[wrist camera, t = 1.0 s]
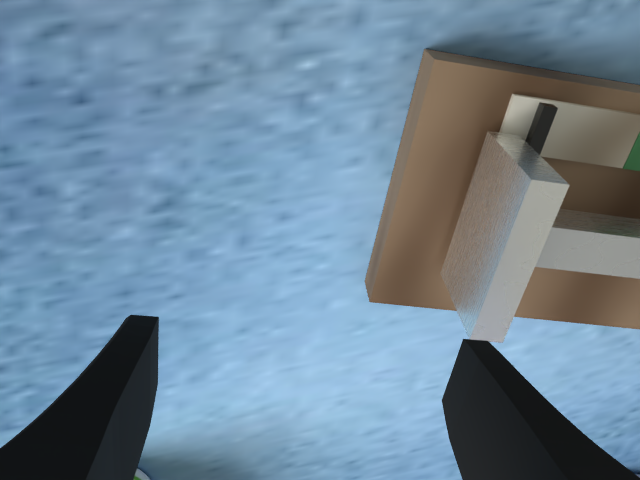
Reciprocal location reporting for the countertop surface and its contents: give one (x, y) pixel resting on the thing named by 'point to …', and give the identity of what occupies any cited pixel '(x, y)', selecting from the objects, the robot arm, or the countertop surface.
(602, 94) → the brown piece
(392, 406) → the countertop surface
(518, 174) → the gauge plunger
